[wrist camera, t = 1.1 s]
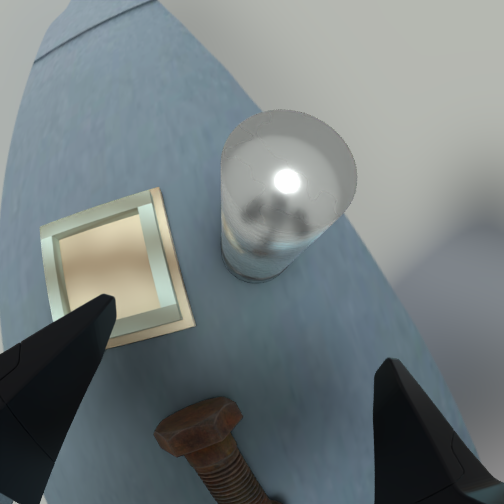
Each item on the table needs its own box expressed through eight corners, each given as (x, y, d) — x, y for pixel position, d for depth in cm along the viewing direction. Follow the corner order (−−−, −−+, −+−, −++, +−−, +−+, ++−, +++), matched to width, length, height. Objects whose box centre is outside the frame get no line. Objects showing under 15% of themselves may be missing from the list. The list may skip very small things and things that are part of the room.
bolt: (268, 533, 19) (185, 402, 21) (322, 529, 18) (241, 387, 20) (243, 578, 14) (136, 438, 16) (304, 579, 12) (197, 430, 14)
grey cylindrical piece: (299, 271, 23) (378, 213, 11) (232, 291, 22) (243, 251, 10) (277, 208, 24) (327, 101, 11) (213, 225, 23) (204, 122, 11)
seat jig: (196, 325, 21) (192, 326, 19) (70, 357, 20) (55, 359, 17) (161, 193, 23) (155, 179, 21) (47, 230, 22) (32, 221, 19)
